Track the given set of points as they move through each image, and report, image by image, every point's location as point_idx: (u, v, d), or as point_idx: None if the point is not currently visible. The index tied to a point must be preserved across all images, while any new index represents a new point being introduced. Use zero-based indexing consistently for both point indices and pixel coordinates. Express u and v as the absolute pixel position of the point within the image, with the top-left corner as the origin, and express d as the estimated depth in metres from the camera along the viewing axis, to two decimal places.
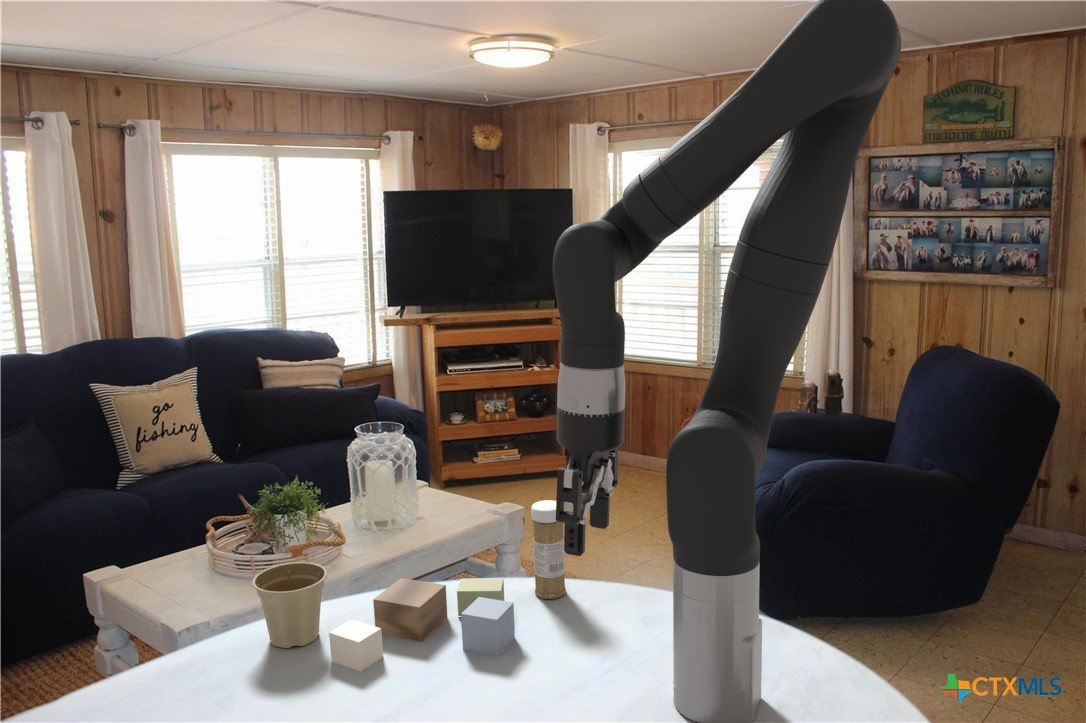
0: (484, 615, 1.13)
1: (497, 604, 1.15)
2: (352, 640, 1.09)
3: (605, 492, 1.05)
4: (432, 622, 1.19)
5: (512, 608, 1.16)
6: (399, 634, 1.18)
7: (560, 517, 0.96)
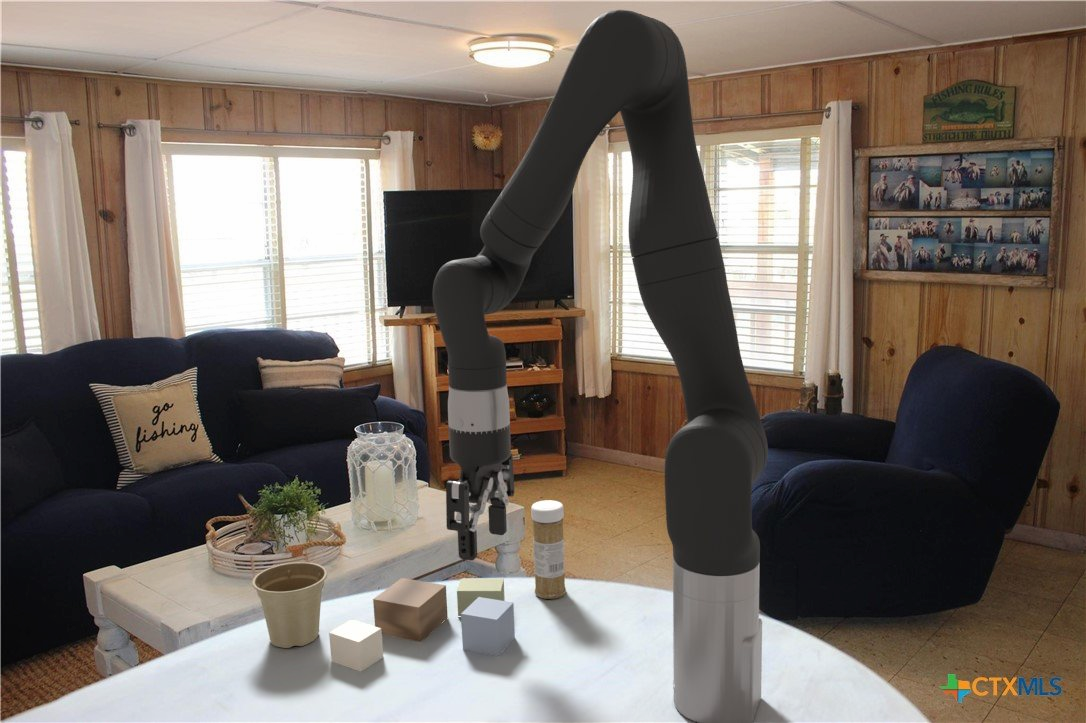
0: (484, 615, 1.13)
1: (497, 604, 1.15)
2: (352, 640, 1.09)
3: (501, 501, 1.15)
4: (432, 622, 1.19)
5: (512, 608, 1.16)
6: (398, 634, 1.18)
7: (450, 525, 1.06)
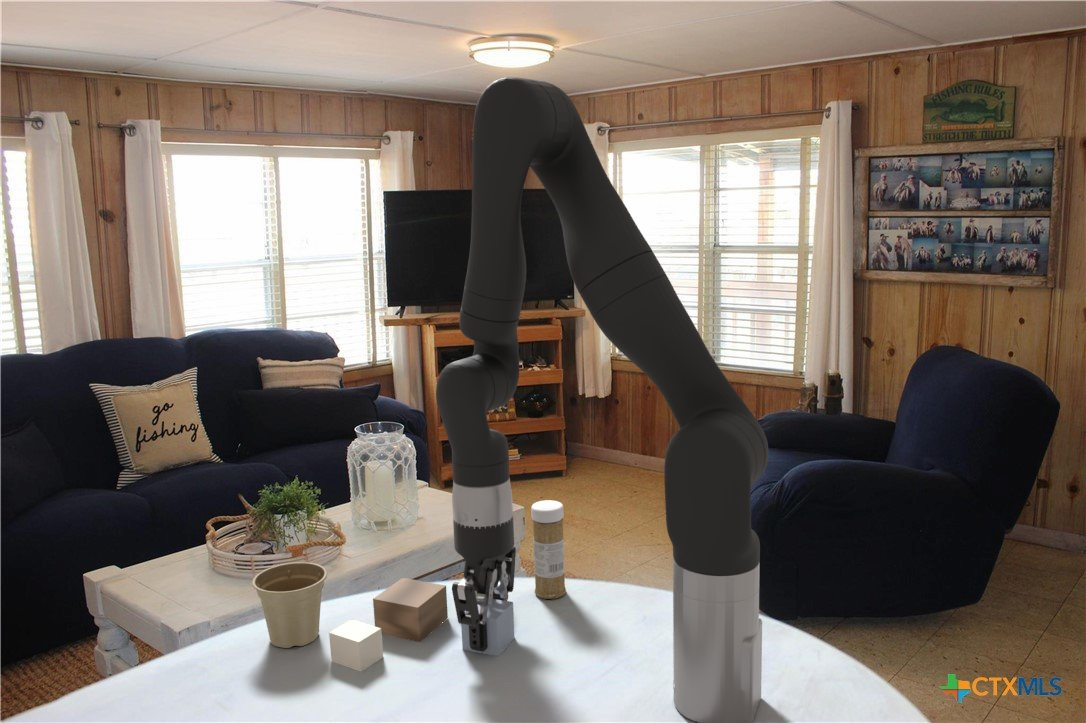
0: None
1: (497, 603, 1.15)
2: (352, 640, 1.09)
3: (500, 596, 1.16)
4: (431, 623, 1.19)
5: (512, 607, 1.16)
6: (398, 634, 1.18)
7: (462, 621, 1.09)
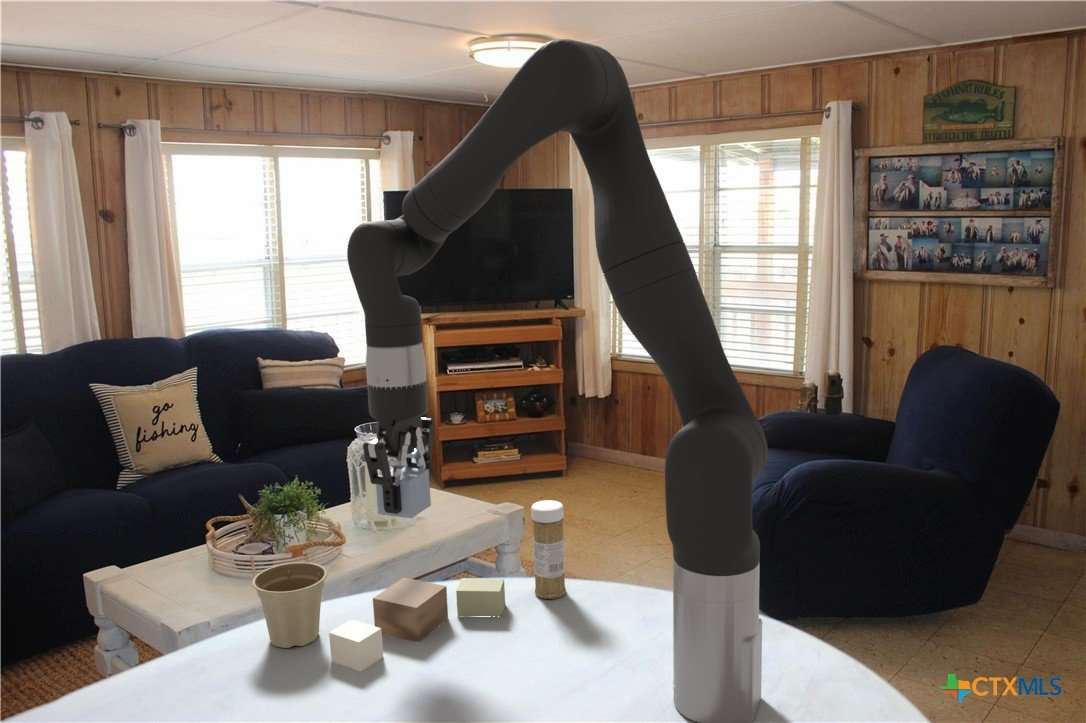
0: None
1: (412, 470, 1.18)
2: (352, 640, 1.09)
3: (417, 464, 1.19)
4: (431, 623, 1.19)
5: (427, 474, 1.18)
6: (397, 633, 1.18)
7: (374, 481, 1.12)
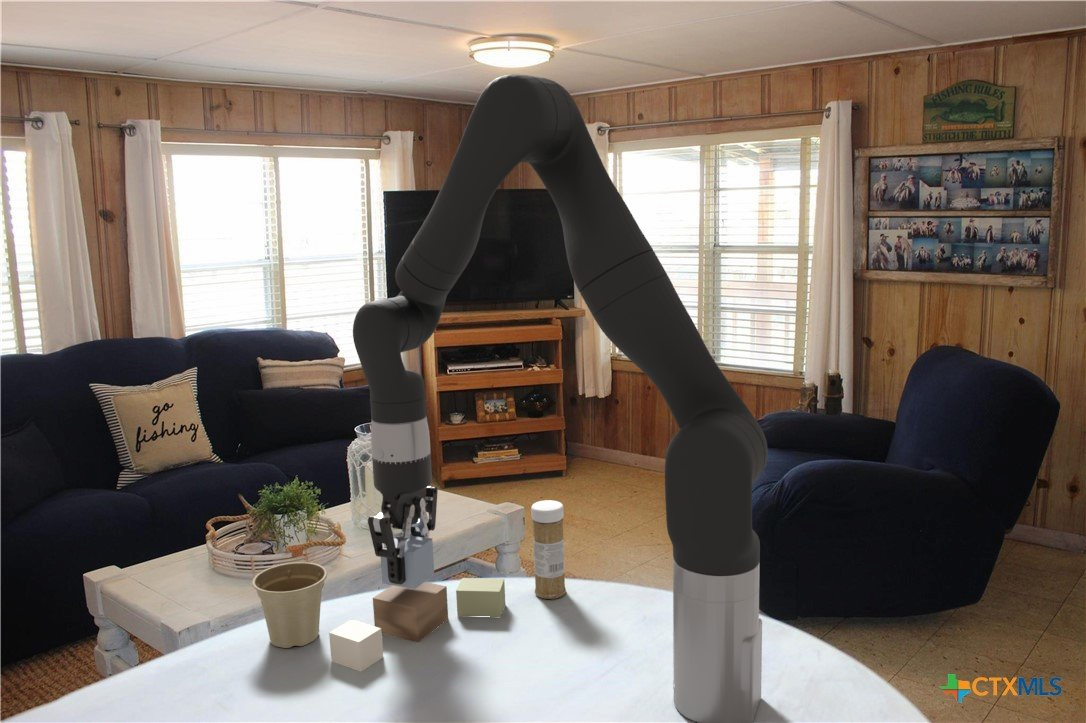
0: None
1: (416, 540, 1.20)
2: (352, 640, 1.09)
3: (421, 533, 1.20)
4: (430, 623, 1.19)
5: (431, 543, 1.20)
6: (397, 633, 1.18)
7: (379, 554, 1.14)
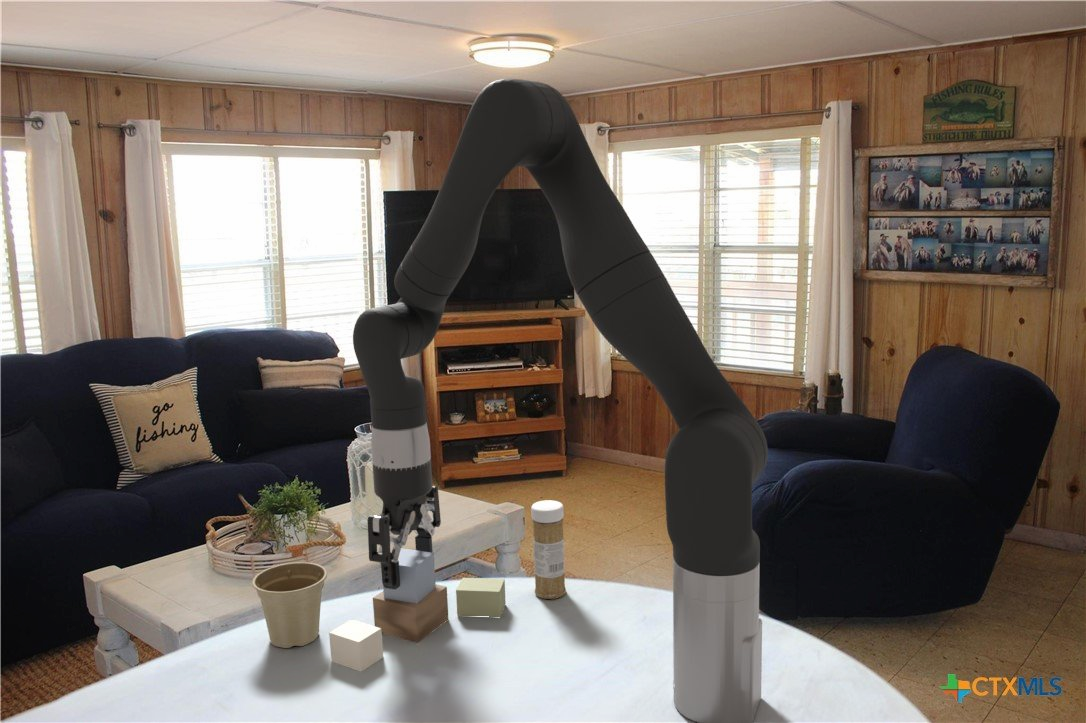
0: (403, 563, 1.17)
1: (418, 554, 1.20)
2: (352, 640, 1.09)
3: (426, 532, 1.22)
4: (430, 623, 1.18)
5: (432, 558, 1.20)
6: (396, 633, 1.18)
7: (372, 557, 1.12)
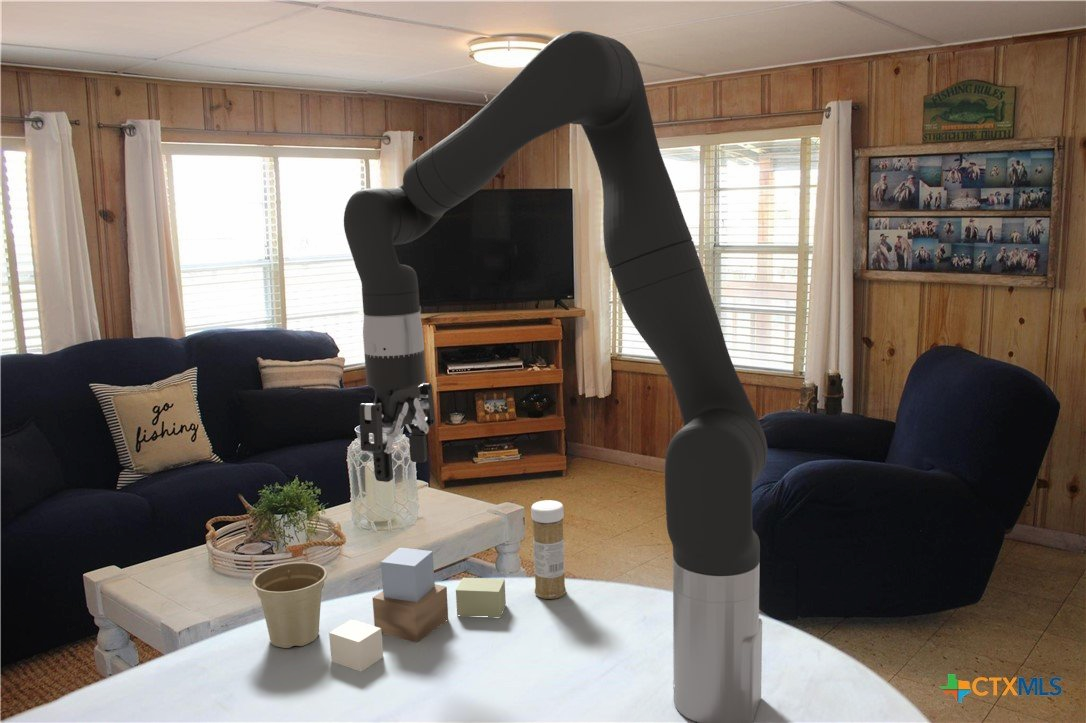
0: (403, 562, 1.17)
1: (416, 553, 1.20)
2: (352, 640, 1.09)
3: (420, 429, 1.19)
4: (430, 623, 1.18)
5: (431, 556, 1.20)
6: (396, 633, 1.18)
7: (364, 446, 1.10)
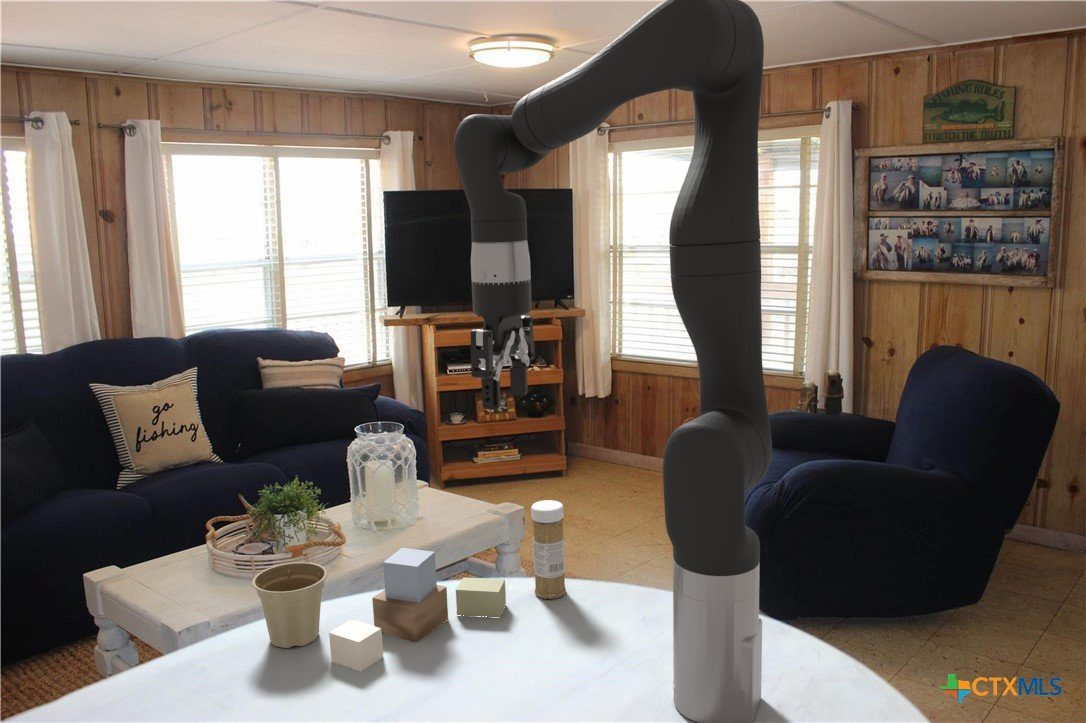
0: (405, 562, 1.17)
1: (419, 553, 1.20)
2: (352, 640, 1.09)
3: (522, 361, 1.19)
4: (430, 623, 1.18)
5: (433, 557, 1.20)
6: (396, 633, 1.18)
7: (475, 372, 1.10)
